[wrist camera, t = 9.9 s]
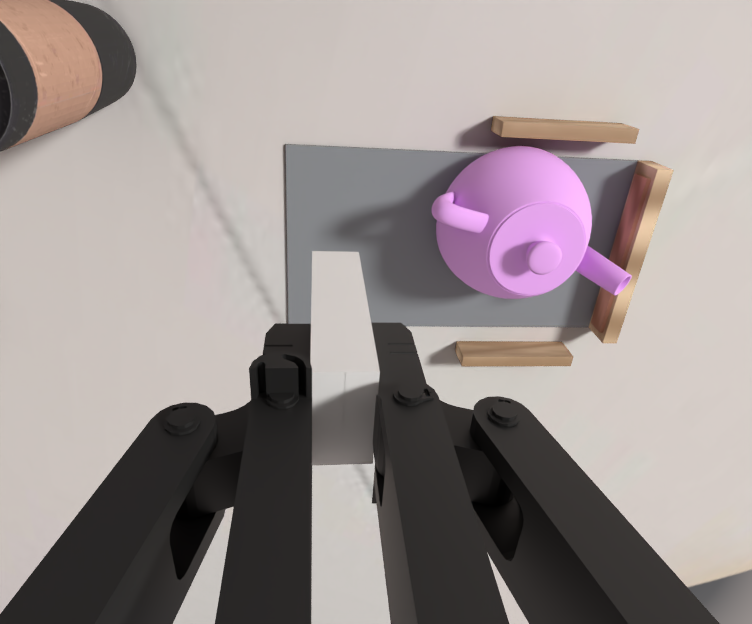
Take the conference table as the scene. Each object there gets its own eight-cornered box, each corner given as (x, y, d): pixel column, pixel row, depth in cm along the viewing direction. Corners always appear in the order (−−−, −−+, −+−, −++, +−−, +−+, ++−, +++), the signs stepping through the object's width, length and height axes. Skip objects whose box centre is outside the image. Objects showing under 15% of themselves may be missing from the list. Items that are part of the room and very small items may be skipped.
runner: (285, 143, 46) (285, 144, 46) (651, 161, 50) (652, 161, 50) (288, 324, 54) (288, 325, 54) (600, 326, 58) (601, 327, 58)
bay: (493, 116, 46) (505, 122, 43) (662, 125, 48) (686, 132, 45) (455, 350, 58) (462, 369, 55) (593, 350, 60) (607, 368, 57)
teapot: (556, 310, 56) (604, 366, 47) (387, 245, 51) (403, 295, 42) (633, 191, 51) (705, 230, 42) (452, 105, 45) (488, 127, 36)
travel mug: (103, 128, 44) (-38, 199, 26) (14, 53, 40) (-213, 76, 23) (161, 58, 42) (50, 84, 24) (72, -27, 38) (-129, -67, 21)
